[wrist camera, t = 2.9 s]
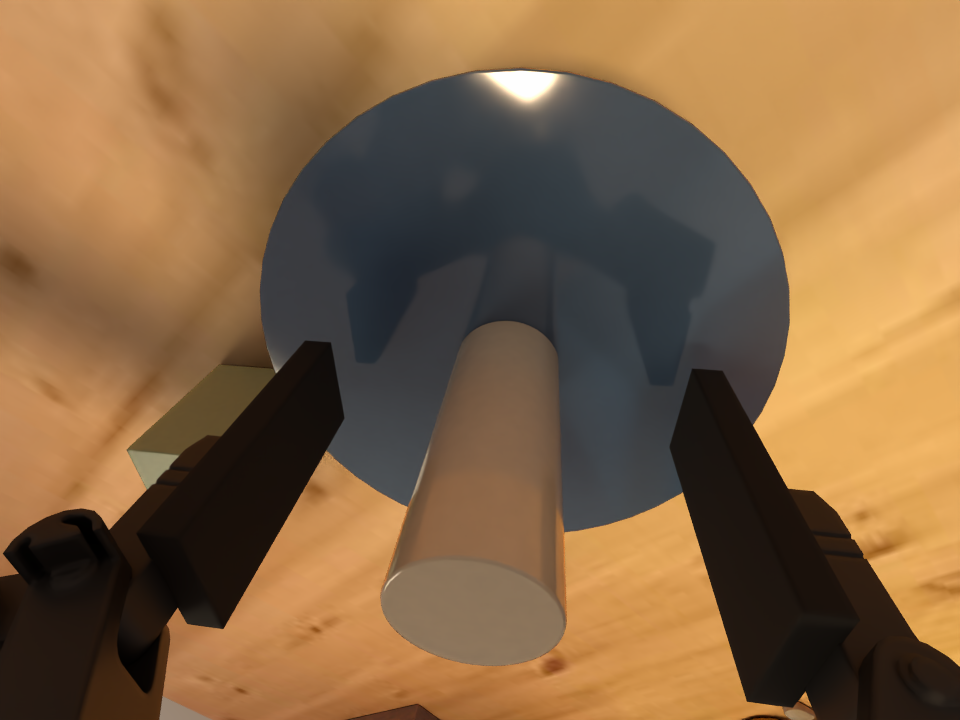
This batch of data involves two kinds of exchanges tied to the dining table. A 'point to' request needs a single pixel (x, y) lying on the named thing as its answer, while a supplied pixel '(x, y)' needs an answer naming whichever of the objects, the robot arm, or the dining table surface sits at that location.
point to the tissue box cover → (401, 714)
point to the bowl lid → (518, 327)
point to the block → (197, 417)
